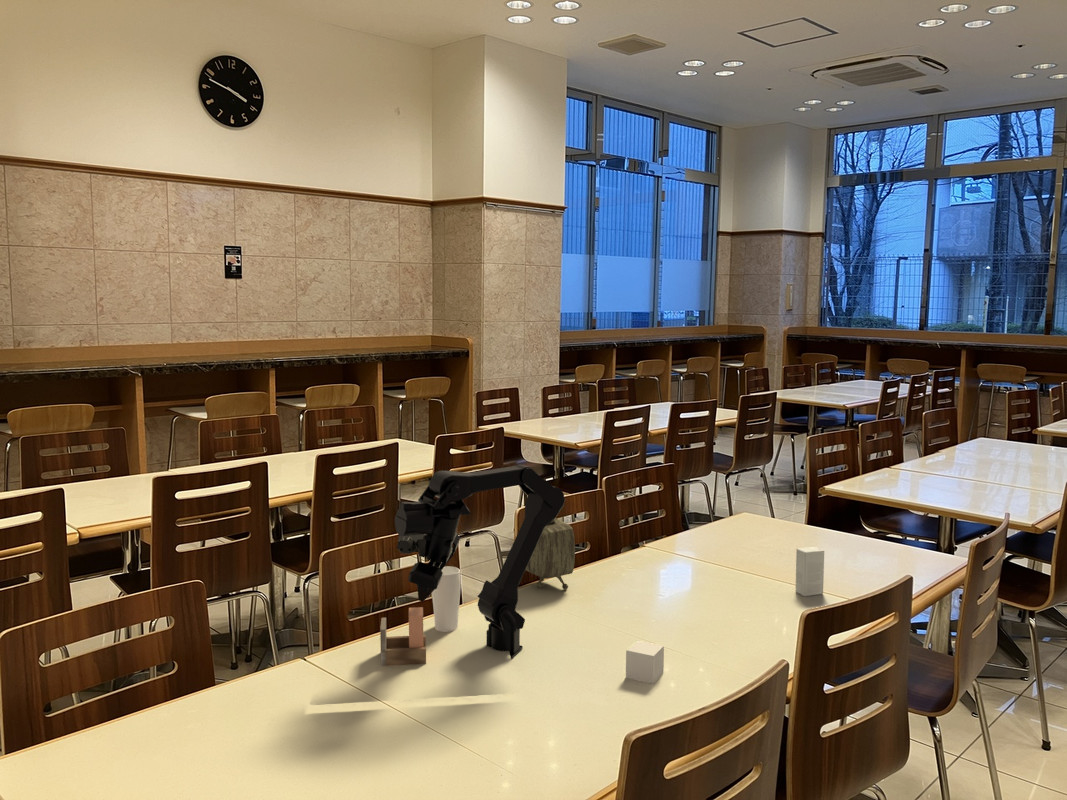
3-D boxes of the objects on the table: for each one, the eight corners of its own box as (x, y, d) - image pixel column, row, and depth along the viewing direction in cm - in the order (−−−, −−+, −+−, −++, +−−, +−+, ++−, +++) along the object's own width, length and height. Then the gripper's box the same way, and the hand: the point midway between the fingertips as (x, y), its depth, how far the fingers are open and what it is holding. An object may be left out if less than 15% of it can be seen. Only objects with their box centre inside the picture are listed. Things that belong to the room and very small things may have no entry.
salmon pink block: (423, 651, 191) (422, 607, 190) (423, 660, 186) (423, 615, 185) (409, 652, 190) (408, 607, 189) (409, 661, 185) (408, 616, 184)
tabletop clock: (574, 590, 235) (575, 499, 232) (547, 596, 230) (547, 503, 227) (543, 576, 247) (544, 489, 244) (516, 582, 242) (517, 493, 239)
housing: (430, 654, 192) (429, 614, 191) (431, 669, 185) (430, 628, 184) (382, 656, 191) (381, 616, 190) (380, 672, 183) (380, 630, 182)
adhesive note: (653, 684, 178) (653, 656, 177) (625, 678, 181) (626, 650, 180) (663, 673, 183) (663, 645, 183) (636, 667, 186) (637, 640, 185)
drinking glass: (456, 639, 201) (455, 575, 199) (428, 637, 202) (427, 573, 201) (464, 628, 208) (464, 567, 206) (437, 626, 209) (436, 565, 207)
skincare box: (813, 589, 237) (815, 546, 235) (823, 594, 233) (825, 550, 231) (794, 591, 235) (795, 548, 233) (803, 596, 231) (805, 552, 229)
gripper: (419, 497, 193) (405, 554, 199) (391, 540, 176) (377, 601, 182) (467, 512, 192) (451, 569, 199) (444, 557, 175) (428, 618, 182)
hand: (427, 588), depth 190 cm, fingers open, 9 cm apart
